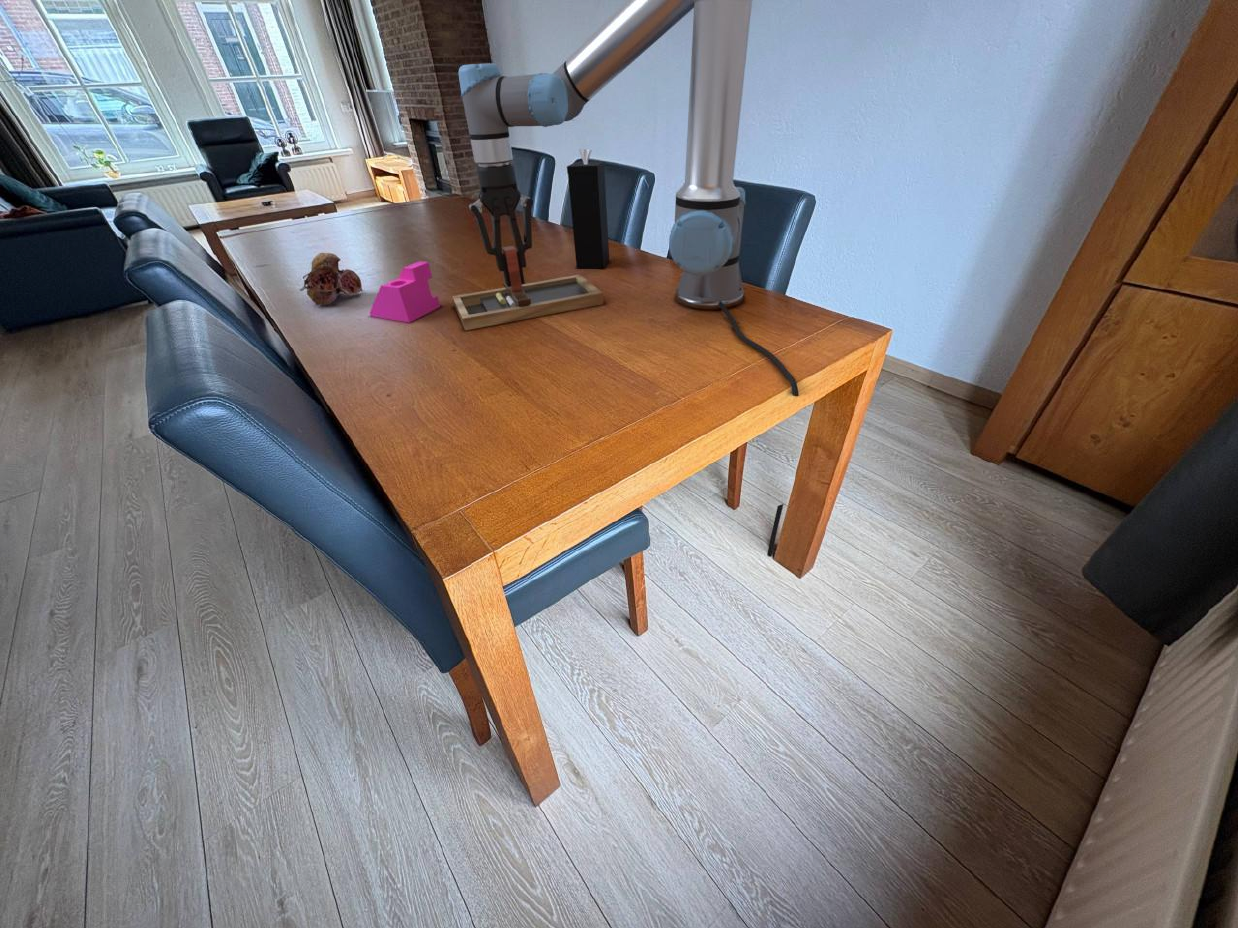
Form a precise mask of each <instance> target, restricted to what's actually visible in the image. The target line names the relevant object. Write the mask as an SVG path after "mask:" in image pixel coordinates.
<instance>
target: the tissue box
mask: <svg viewBox="0 0 1238 928" xmlns="http://www.w3.org/2000/svg"><path fill="white" fill-rule="evenodd" d="M591 153H592V149H587V148H585V149H584V148H579V155H580V157H581V159H582V161H576V162H573V163H571V164H569V165H567V166H566V172H567V173H566V174H567V178H568V179H567V181H568V190H569V200H570V209H571V221H572V222H571V223H572V232H573V243H574V254H575V262H576V263H575V264H576V269H605V267H606V266H607V265H608V263H609V262H610V247H609V245H610V244H609V229H608V226H609V225H608V209H607V191H606V190H607V189H606V174H605V171H606V170H605V169H606V168H605V161H589V160H590V156H591Z"/></svg>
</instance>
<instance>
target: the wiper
mask: <svg viewBox="0 0 1238 928" xmlns="http://www.w3.org/2000/svg"><path fill="white" fill-rule="evenodd" d="M516 251H517V248H516V247H514V245H509V246H502V253H503V254H504V255H505V256H506V260H507V265H508V271H509V277H510V282H511V287H508V286H507V285H506V284H505V280H504V281H502V283H503V288H504V287H505V288H506V292H507V294H508V295H509V296H510V297H511V298H512V299H513V300H514V302H515V303H516V306H522V305H527V304H531V299H530V298H529V297H528V295H527V294H526V293H525V292H524V291H523V289H522V283H521V277H520V271H519V265H518V259H517V252H518V251H517V252H516Z"/></svg>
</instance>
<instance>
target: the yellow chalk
mask: <svg viewBox="0 0 1238 928" xmlns="http://www.w3.org/2000/svg"><path fill="white" fill-rule="evenodd" d="M496 297H497V299H498V300H499V302H500V303H501V304H502V305H504V304H505V303H506V301H505V299H504V298H503V296H502V295H501V293H497V294H496Z"/></svg>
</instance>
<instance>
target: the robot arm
mask: <svg viewBox="0 0 1238 928" xmlns="http://www.w3.org/2000/svg"><path fill="white" fill-rule="evenodd" d="M752 7H753V0H626V1H625V2H623V4H622V5H620V6H619V8H618V9H617V10H615V12H613V14H612V15H610V16H609V18H608V19H606V20H605V22H603V24H601V25H600V26H599V27H598V28H597V29H596V30H595V31H594V32H593V34H591V35H590V36H589V37H588V38H587V39H586V40H585V41H584V42H583V43H582V44H581V45H580V46H579V47H578V48H577V49H576V50H575V51H574V52H573V53H572V54H571V55H570V56H569V57H568V58H567V59H566V60H565V61H564V62H563V63H562V64H561V65H560V66H559V67H558V68H557V69H556V70H555V71H553V73H546V72H544V73H543V72H539V73H536V74H534V73H533V74H523V75H513V76H505V75H502V74H501V71H500V67H499V66H498V64H496V63H491V62H490V63H470V64H463V65H460V67H459V69H458V79H459V87H460V97H461V100H462V105H463V109H464V114H465V118H466V123H467V128H468V132H469V138H470V139H469V140H470V145H471V149H472V155H473V161H474V163H475V164H477V165H478V166H476V168H475V172H476V176H477V177H476V178H477V181H478V188H479V195H478V199H477V200H476V201H474V202H473V203H469V205H468V208H469V210H470V211H471V212H472V214H473V215H474V217H475V221H476V224H477V227H478V230H479V232H480V237H481V240H482V243H483V246H484V249H485V252H486V253H487V254H488V255H492V256H495V260H496V267H497V269H498V270H499V272H502V273H503V278H504V281H505V284H506V285H507V286H508V287H511V282H510V277H509V271H508V265H507V260H506V256H505V255H504V254H503V249H502V248H503V246H502V232H501V217H502V216H506V217H507V219H508V222H509V226H510V227H509V228H510V230H511V234H512V237H513V240H514V244H515V249H516V252H517V259H518V265H519V271H520V277H521V283H522V284H526V282H525V277H524V270H523V269H525V268H526V267H527V260H526V251H527V250H531V249H532V247H533V237H532V233H533V232H532V208H533V204H534V200H533V198H531V197H529V196H525V195H523V194H521V192H520V190H519V188H518V184H517V178H516V177H517V176H516V170H515V165H514V164H513V163H511V162H512V161H513V160H514V158H513V151H512V144H511V139H510V131H509V128H515V127H544V128H547V127H553V126H559V125H562V124H563V123H564V122H569V121H572V120H573V119H574V118H576V117H578V116H579V115H580V114H581V113H582V111H583V109H584V107H585V105H587V104H588V103H589V101H591V100H592V98H594V97H595V96H596V95H597V94H599V92H601V91H602V90H603V89H604V88H605V87H606V86H607V85H608V84H609V83H610V82H612V81H613V80H614V79H615V78H616V77H617V76H619V75H620V74H621V73H622V72H624V70H626V69H627V67H629V66H630V65H631V64H632V63H634V62H635V60H637V59H638V58H639V57H640V56H641V55H642V54H643V53H645V51H647V50H648V49H649V48H651V47H652V46H653V45H654V44H655V43H656V42H657V41H659V39H661V38H662V37H663V36H664V35H665V34H666V33H667V32H669V30H671V29H672V28H673V27H674V26H675V25H676V24H677V23H679V22H680V21H681V20H682V19H683V18H684V17H685V16H687V15H688V14H689V13H690V12H691V11H692V10H693V20H692V21H693V22H692V38H691V39H692V40H691V57H690V58H691V60H690V62H691V63H690V78H689V96H688V118H687V131H686V132H687V134H686V136H687V137H686V151H685V170H684V171H685V172H684V183H683V185H682V186H681V187H680V188H679V189H678V190H677V191H676V192H675V206H674V207H675V208H674V223H673V225H672V228H671V230H670V234H669V238H668V249H669V253H670V256H671V259H672V261H673V262H674V264H676V265H677V267H678V268H679V269H681V270H682V271H683V272H682V274H681V276H680V279H679V282H678V284H677V286H676V290H675V292H676V301H677V302H678V303H680V304H681V305H682V306H685V307H688V308H691V309H695V310H706V311H707V310H712V311H713V310H714V311H715V310H716V311H717V310H722V312H723V313H724V315H725V316H726V318H727V319H728V320H729V322H730V324H731V325H732V328H733V330H734V332H735V334H736V336H737V337H738V339H739V340H741V341H742V342H743V343H744V344H746V345H748V346H749V347H751V348H753V349H754V350H756V351H758V352H760V353H761V354H763V355H764V356H765V357H767V358H768V359H769V360H770V361H771V362H772V363H773V364H774V365H775V366H776V367H777V368H778V370H779V371H780V372H781V374H782V375H783V376H784V378H786V379H787V380H788V381H789V383H790V387H791V394H792V396H793V397H799V387H798V383H797V381H796V378H795V377H794V376H793V375H792V374H791V373H790V372H789V370H788V369H787V368H786V366H785V365H784V364H783V363H782V362H781V360H780V359H778V358H777V357H776V356H775V355H774V354H773V353H772V352H771V351H770V350H768V349H767V348H765V347H763V346H762V345H760V344H758V343H757V342H755V341H753V340H751V339H750V338H748V337H747V336H746V335H744V334H743V332H742V331H741V330H740V328H739V325H738V323H737V321H736V319H735V318H734V316H733V315H732V314H731V312H730V311H729V308H733V307H736V306H738V305H739V304H741V303H742V302H743V300H744V294H745V293H744V292H745V290H744V285H743V281H742V275H741V269H740V267H739V266H740V265H739V262H740V253H741V241H742V233H743V224H744V223H743V221H744V211H745V206H746V190H745V189H744V188H743V187H741V186H735V183H734V177H735V176H734V175H735V166H736V158H737V150H738V149H737V148H738V137H739V130H740V121H741V110H742V100H743V91H744V81H745V72H746V63H747V62H746V61H747V53H748V45H749V43H748V42H749V34H750V27H751V26H750V24H751V16H752ZM519 203H520V206H521V208H522V231H523V232H522V233H523V239H522V236H521V231H520V227H519V225H518V220H517V215H516V210H517V207H518V205H519ZM483 207H484V208H485V209H486V210H487V211H488V212H489V213H490V216H491V224H492V238H493V247H492V243H491V240H490V237H489V233H488V230H487V227H486V223H485V220H484V218H483V217H484V216H483V215H482V213H483ZM783 509H784V503H782V504H779V505H777V507H776V512H775V517H774V520H773V525H772V529H771V534H770V539H769V543H768V547H767V548H768V549H767V553H766V555H767V557H769V558H770V557H772V556H773V552H774V547H775V543H776V538H777V533H778V530H779V525H780V521H781V516H782V512H783Z"/></svg>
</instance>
